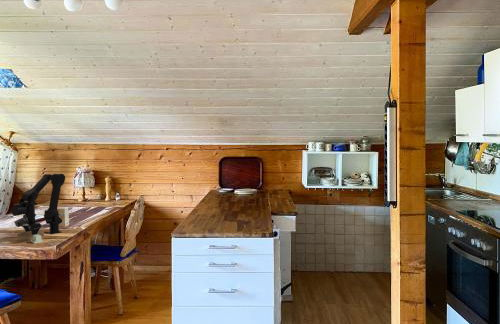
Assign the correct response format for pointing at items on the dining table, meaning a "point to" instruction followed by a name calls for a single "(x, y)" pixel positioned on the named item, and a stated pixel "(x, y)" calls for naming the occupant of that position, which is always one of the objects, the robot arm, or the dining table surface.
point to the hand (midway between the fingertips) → (30, 237)
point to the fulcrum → (36, 239)
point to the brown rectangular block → (28, 235)
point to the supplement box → (63, 216)
